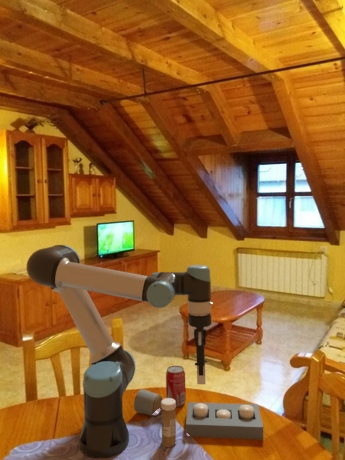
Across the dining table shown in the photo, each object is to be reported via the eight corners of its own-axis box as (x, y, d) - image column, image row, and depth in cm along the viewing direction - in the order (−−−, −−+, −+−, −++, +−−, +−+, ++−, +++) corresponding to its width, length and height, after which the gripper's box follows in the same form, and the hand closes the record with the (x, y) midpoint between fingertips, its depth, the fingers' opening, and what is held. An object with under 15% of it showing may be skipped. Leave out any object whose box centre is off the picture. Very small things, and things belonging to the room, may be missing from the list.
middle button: (216, 425, 128) (216, 416, 127) (216, 417, 132) (216, 409, 132) (230, 426, 127) (230, 417, 127) (230, 418, 132) (230, 409, 132)
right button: (239, 420, 127) (239, 411, 127) (238, 413, 131) (238, 404, 131) (254, 421, 126) (254, 412, 126) (252, 413, 131) (252, 404, 131)
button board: (186, 436, 124) (185, 424, 124) (188, 413, 138) (188, 402, 138) (263, 439, 122) (263, 427, 121) (257, 415, 136) (257, 404, 135)
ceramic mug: (154, 421, 133) (154, 398, 133) (133, 415, 137) (133, 394, 136) (167, 407, 143) (167, 386, 143) (148, 402, 146) (148, 382, 146)
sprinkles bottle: (158, 443, 121) (157, 400, 120) (169, 437, 124) (168, 395, 123) (168, 450, 117) (167, 406, 116) (179, 443, 120) (178, 400, 120)
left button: (193, 418, 128) (193, 410, 128) (194, 411, 133) (194, 403, 133) (207, 419, 128) (207, 410, 128) (207, 412, 132) (207, 403, 132)
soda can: (189, 401, 146) (188, 367, 146) (179, 409, 140) (178, 374, 140) (173, 396, 150) (172, 363, 149) (162, 404, 144) (162, 370, 143)
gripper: (211, 318, 121) (212, 392, 123) (211, 307, 134) (212, 375, 136) (187, 318, 122) (189, 392, 123) (189, 307, 135) (191, 374, 136)
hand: (201, 383), depth 130 cm, fingers closed
